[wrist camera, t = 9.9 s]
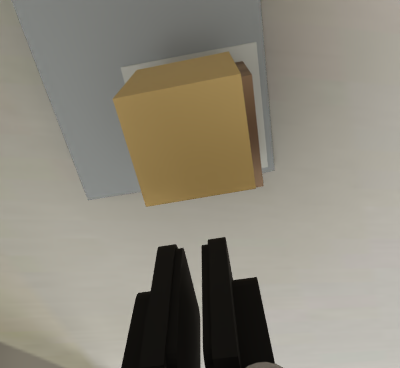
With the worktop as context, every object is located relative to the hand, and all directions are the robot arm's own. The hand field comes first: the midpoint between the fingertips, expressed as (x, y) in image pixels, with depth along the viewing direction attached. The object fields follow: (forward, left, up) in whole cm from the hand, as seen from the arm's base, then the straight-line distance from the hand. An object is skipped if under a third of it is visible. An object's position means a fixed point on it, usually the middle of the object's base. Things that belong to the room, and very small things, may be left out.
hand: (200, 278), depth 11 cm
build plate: (-4, -2, -17) cm, 18 cm away
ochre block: (-2, 0, -11) cm, 11 cm away
